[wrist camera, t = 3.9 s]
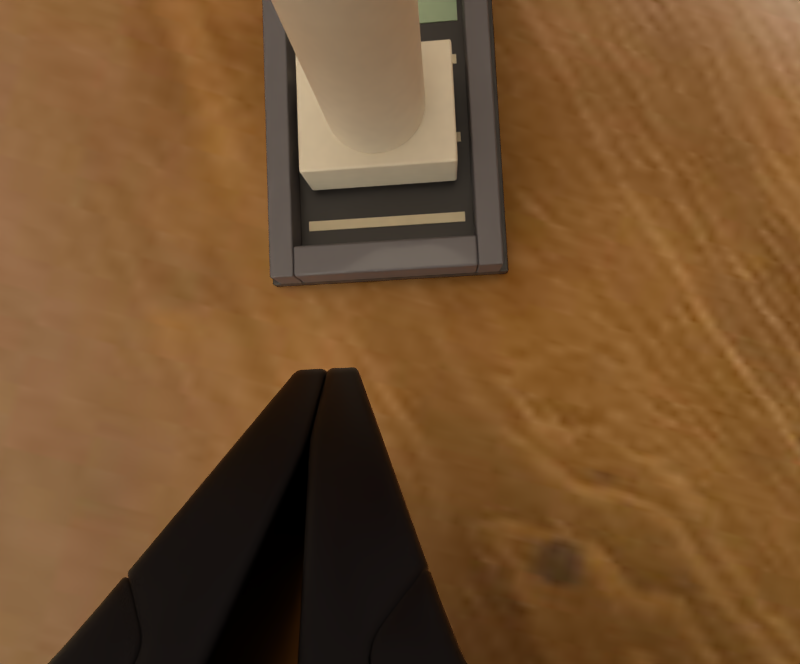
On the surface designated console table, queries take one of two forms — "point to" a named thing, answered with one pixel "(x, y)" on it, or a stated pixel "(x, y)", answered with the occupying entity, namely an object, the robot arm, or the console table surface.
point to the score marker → (370, 94)
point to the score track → (391, 204)
